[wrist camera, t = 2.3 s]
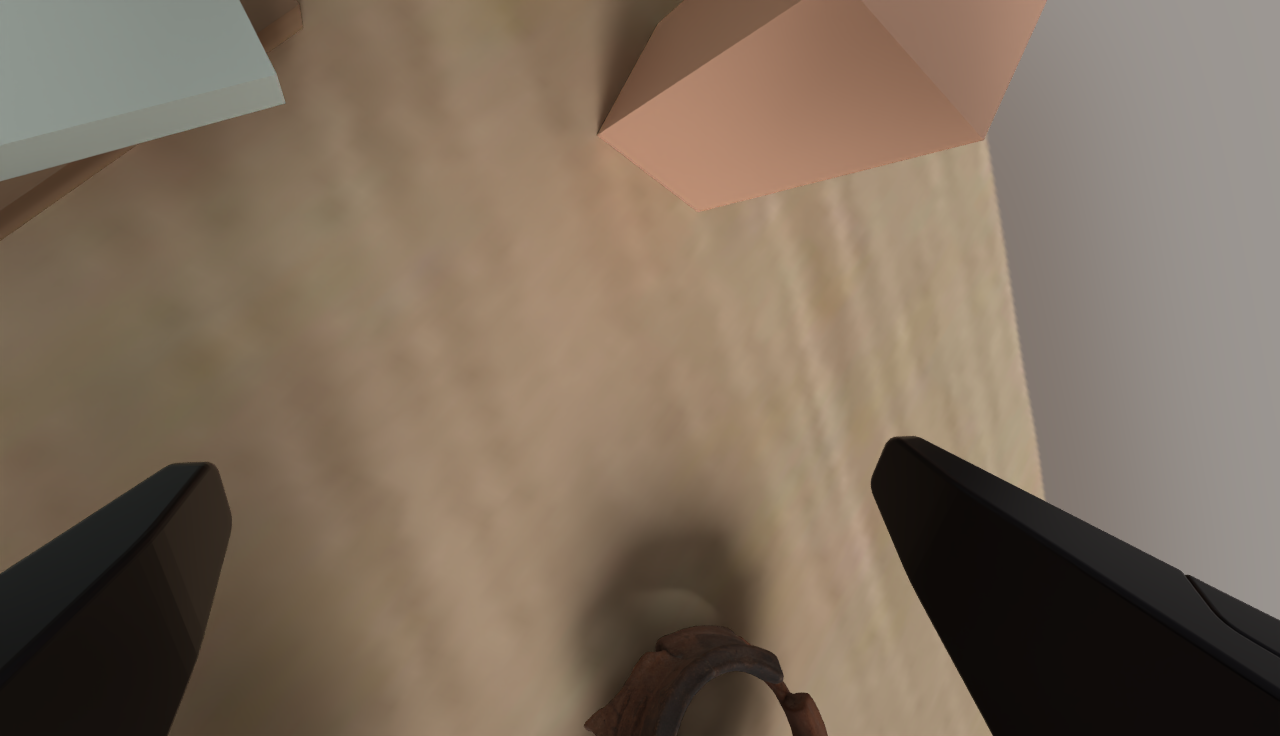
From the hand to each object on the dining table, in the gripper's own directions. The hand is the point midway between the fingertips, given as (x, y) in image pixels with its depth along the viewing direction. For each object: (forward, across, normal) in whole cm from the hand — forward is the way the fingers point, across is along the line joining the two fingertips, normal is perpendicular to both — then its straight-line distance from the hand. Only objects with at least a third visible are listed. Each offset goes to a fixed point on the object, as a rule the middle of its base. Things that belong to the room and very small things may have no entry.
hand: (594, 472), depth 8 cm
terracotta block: (+16, -5, -2) cm, 17 cm away
